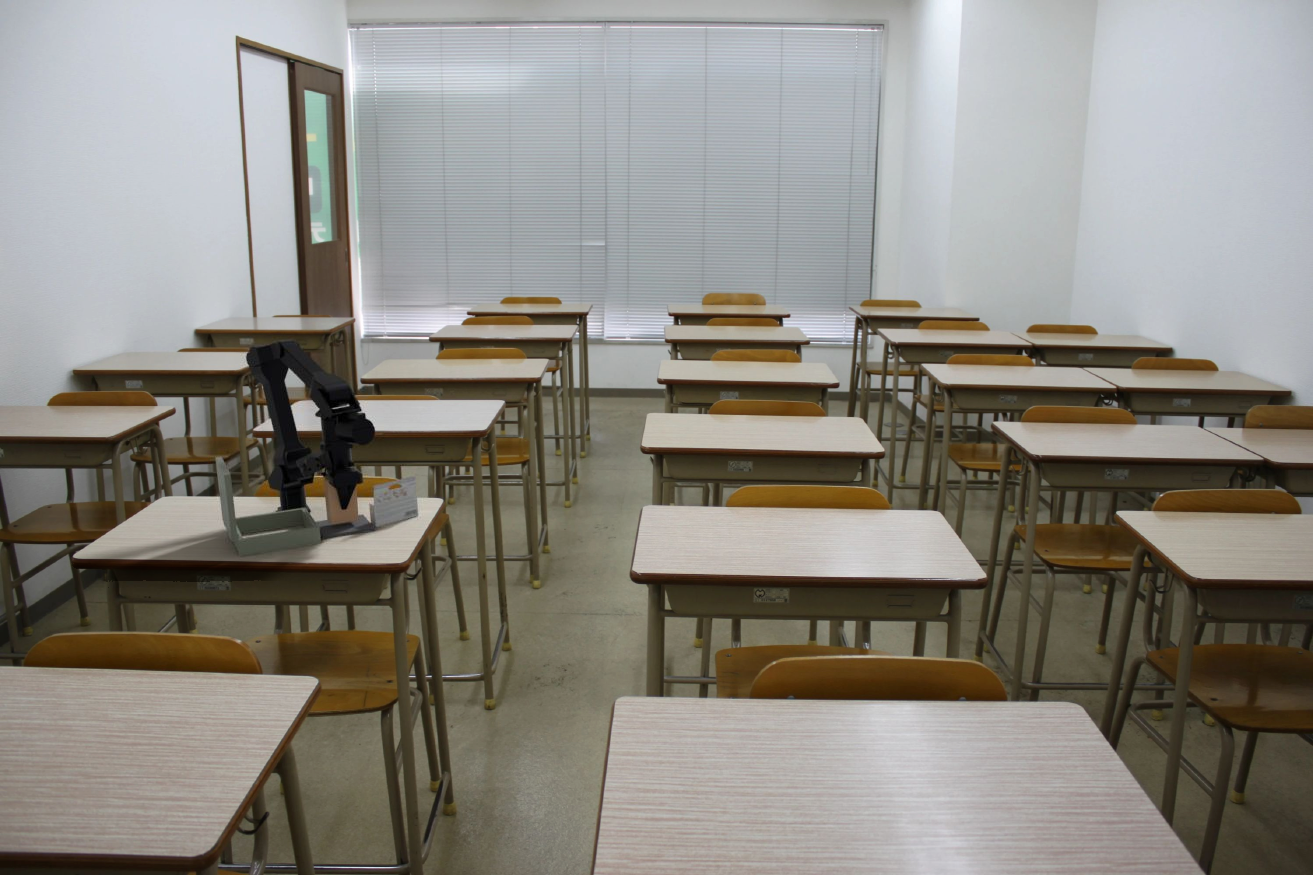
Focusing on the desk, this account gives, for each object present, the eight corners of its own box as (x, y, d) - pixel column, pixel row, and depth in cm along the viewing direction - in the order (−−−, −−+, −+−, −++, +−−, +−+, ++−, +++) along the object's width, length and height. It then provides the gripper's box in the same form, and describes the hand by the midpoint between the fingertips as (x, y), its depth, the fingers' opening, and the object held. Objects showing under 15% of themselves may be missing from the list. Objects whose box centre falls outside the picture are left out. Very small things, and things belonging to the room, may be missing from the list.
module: (327, 519, 214) (323, 474, 211) (354, 515, 217) (351, 470, 214) (331, 524, 211) (327, 479, 208) (358, 520, 213) (355, 475, 211)
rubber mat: (313, 524, 216) (313, 522, 216) (363, 516, 221) (362, 514, 221) (323, 538, 207) (323, 536, 207) (374, 530, 212) (374, 527, 212)
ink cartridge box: (370, 525, 216) (366, 483, 213) (413, 514, 224) (410, 473, 221) (375, 527, 214) (372, 485, 212) (419, 516, 222) (416, 475, 220)
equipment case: (224, 535, 209) (215, 457, 205) (306, 522, 218) (299, 447, 214) (233, 557, 196) (224, 474, 192) (320, 542, 204) (313, 463, 200)
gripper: (289, 434, 213) (296, 501, 217) (305, 452, 198) (312, 524, 201) (341, 428, 219) (346, 494, 222) (360, 445, 203) (366, 516, 207)
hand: (341, 506), depth 213 cm, fingers closed on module, 4 cm apart
